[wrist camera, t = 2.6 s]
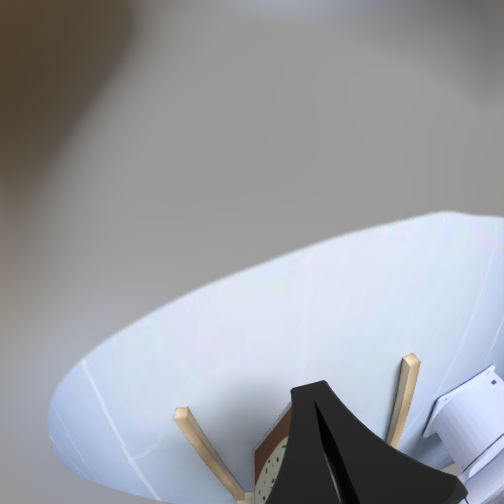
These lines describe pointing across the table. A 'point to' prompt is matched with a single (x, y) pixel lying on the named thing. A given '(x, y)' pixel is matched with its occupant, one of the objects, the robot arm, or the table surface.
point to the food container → (271, 457)
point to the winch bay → (246, 499)
